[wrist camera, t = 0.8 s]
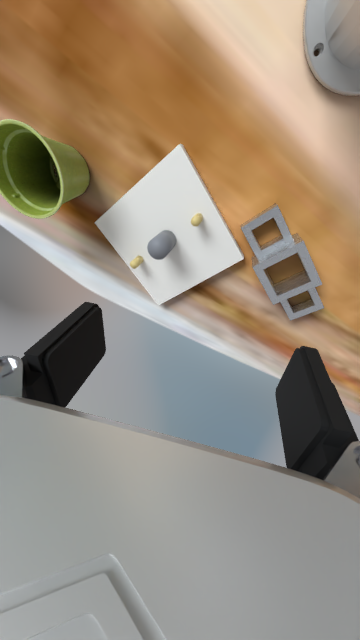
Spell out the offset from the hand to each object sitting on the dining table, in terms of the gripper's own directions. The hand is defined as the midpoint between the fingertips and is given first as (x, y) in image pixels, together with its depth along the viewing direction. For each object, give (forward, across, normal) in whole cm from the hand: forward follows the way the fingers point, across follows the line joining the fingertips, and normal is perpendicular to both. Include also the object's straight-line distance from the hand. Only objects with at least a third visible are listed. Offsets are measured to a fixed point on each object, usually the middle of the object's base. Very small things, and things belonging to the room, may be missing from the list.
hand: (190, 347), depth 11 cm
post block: (+26, +8, +2) cm, 27 cm away
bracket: (+26, -9, +3) cm, 28 cm away
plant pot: (+26, +23, -5) cm, 35 cm away
